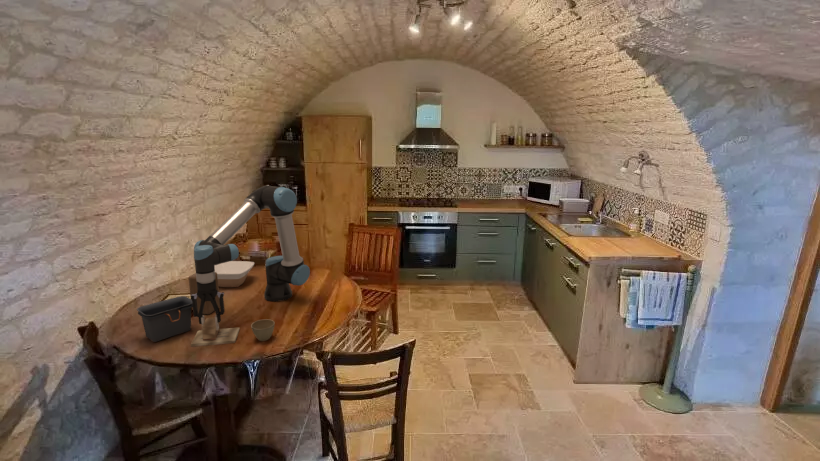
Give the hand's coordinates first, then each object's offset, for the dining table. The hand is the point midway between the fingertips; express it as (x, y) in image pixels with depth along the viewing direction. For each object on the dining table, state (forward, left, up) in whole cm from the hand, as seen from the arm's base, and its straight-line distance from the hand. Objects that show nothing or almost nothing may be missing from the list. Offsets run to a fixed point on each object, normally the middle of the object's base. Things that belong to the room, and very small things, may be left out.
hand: (210, 329), depth 194 cm
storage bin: (+19, -8, -5) cm, 21 cm away
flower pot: (-23, +4, -5) cm, 24 cm away
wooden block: (+9, -33, -5) cm, 34 cm away
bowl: (+3, -72, -5) cm, 72 cm away
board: (-2, 0, -4) cm, 5 cm away
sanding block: (0, 0, -3) cm, 3 cm away
